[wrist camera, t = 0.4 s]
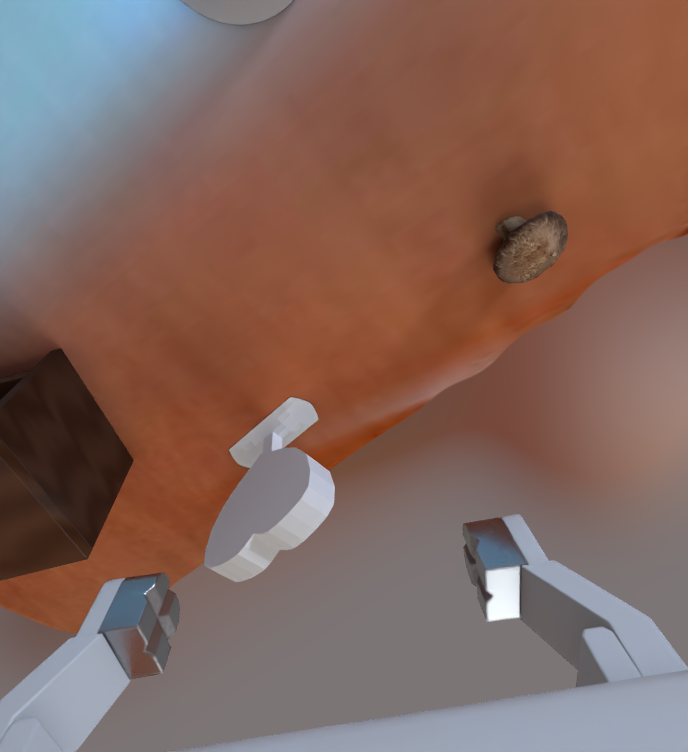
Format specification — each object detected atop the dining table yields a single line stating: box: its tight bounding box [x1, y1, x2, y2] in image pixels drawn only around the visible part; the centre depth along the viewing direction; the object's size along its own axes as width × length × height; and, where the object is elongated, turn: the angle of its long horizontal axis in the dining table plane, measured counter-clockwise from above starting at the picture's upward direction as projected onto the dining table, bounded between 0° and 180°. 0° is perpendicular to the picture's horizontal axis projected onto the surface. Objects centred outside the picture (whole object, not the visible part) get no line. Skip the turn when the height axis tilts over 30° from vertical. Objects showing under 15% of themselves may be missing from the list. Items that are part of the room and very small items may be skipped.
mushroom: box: [493, 211, 568, 283], centre depth 46 cm, size 8×8×6 cm
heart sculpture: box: [204, 397, 335, 582], centre depth 50 cm, size 16×5×18 cm, turn 132°
